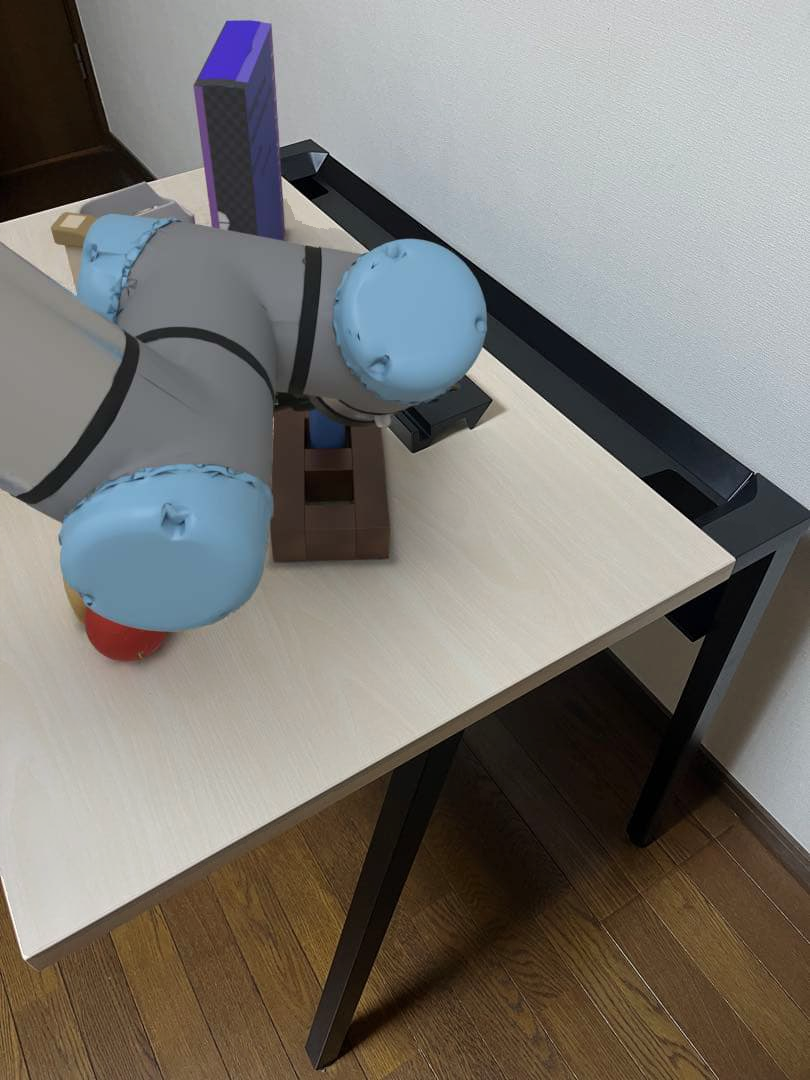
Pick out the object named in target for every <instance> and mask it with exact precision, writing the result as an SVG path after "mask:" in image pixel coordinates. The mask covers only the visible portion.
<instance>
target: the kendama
mask: <svg viewBox="0 0 810 1080" xmlns="http://www.w3.org/2000/svg"><path fill="white" fill-rule="evenodd" d="M62 581H63V586H64V590H65V593H66V597H67V599H68V602H69V604H70V607H71V608H72V611H73V613H74V615H75V616H76V617H77V619H78V621H79V622H80V623H81V624H83V625H84V629H85V633H86V636H87V638H88V640H89V643H90V644H91V645H92V646H93V648H94V649H95V650H96V651H97V652H98V653H100V654H101V655H102V656H103V657H106V658H107V659H109V660H113V661H117V662H132V661H133V662H134V661H138V660H144V659H145V657H147V656H149V655H151V654H152V653H154V652H155V651H156V650H157V649H158V648H159V647H160V646H161V645H162V643H163V641H165V639H166V635H167V633H168V631H149V630H143V629H137V628H133V627H129V626H125V625H122V624H119V623H116V622H113V621H111V620H109V619H106V618H104V617H102V616H101V615H99V614H97V613H95V612H94V611H93V610H91V609H90V608H88V607H87V606H86V605H85V604H84V601H83V598H82V597H81V596H80V595H79V594H78V593H77V592H76V591H75V590H74V589H71V588H70V587H69V585H68V583H67V582H66V580H65V579H64V576H63V575H62Z"/></svg>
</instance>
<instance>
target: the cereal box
mask: <svg viewBox="0 0 810 1080" xmlns="http://www.w3.org/2000/svg"><path fill="white" fill-rule="evenodd" d="M273 39H274V38H273V25H272V23H270V22H264V21H259V20H250V19H247V20H246V19H245V20H243V19H242V20H241V19H240V20H239V19H237V20H226V21H225V23H224V25H223V27H222V29H221V30H220V32H219V35H218V36H217V38H216V41H215V42H214V44H213V46H212V48H211V50H210V52H209V54H208V55H207V58H206V59H205V62H204V63H203V66H202V68H201V70H200V71H199V74H198V76H197V78H196V80H195V82H194V84H193V93H194V100H195V101H194V102H195V108H196V116H197V123H198V131H199V138H200V139H199V141H200V146H201V153H202V161H203V169H204V177H205V182H206V183H205V184H206V191H207V199H208V206H209V215H210V221H211V222H210V223H211V227H214V228H219V229H224V230H230V231H235V232H240V233H245V234H251V235H256V236H261V237H266V238H272V239H277V240H282V241H284V239H285V238H284V237H285V234H286V226H285V225H286V224H285V209H284V194H283V193H284V192H283V180H282V179H283V178H282V165H281V164H282V163H281V150H280V149H281V147H280V132H279V131H280V130H279V118H278V117H279V115H278V102H277V86H276V72H275V71H276V70H275V57H274V55H275V54H274V40H273Z"/></svg>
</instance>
